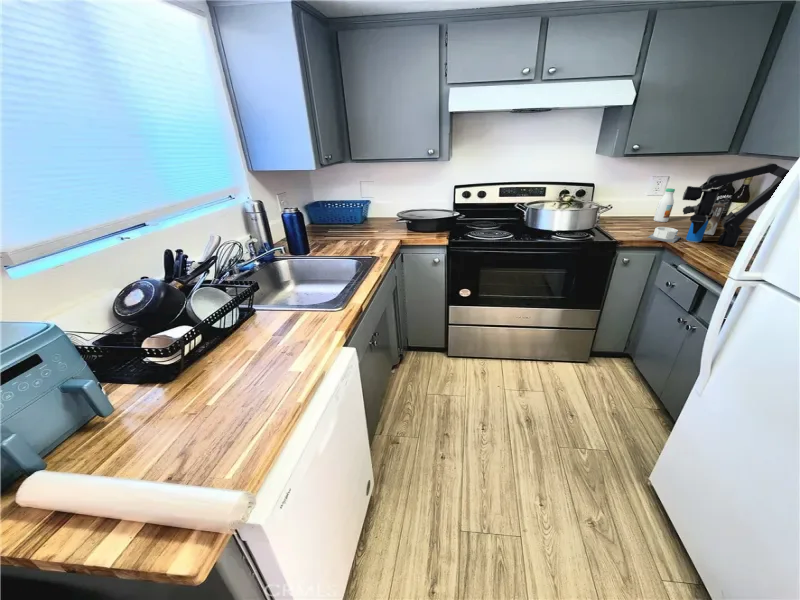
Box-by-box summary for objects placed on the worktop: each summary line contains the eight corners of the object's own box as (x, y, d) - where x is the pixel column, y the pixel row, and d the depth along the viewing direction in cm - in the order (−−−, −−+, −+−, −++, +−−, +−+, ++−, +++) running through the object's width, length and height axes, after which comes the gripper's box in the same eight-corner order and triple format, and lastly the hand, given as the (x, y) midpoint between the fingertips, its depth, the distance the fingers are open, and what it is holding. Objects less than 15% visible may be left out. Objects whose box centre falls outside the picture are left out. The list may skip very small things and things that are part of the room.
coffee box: (714, 233, 191) (725, 203, 183) (713, 235, 186) (725, 205, 179) (693, 230, 196) (704, 202, 189) (692, 232, 192) (703, 204, 185)
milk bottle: (656, 222, 215) (667, 189, 206) (650, 219, 222) (660, 187, 213) (670, 222, 214) (681, 189, 205) (663, 219, 220) (674, 187, 211)
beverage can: (700, 243, 174) (709, 220, 169) (685, 241, 178) (693, 219, 172) (700, 240, 179) (709, 218, 173) (685, 238, 182) (693, 216, 177)
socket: (680, 238, 183) (683, 229, 181) (673, 242, 176) (676, 233, 174) (654, 234, 192) (657, 225, 189) (647, 238, 185) (650, 229, 183)
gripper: (692, 197, 180) (682, 226, 187) (682, 202, 169) (672, 232, 176) (719, 199, 172) (708, 229, 179) (711, 204, 161) (699, 236, 168)
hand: (696, 231), depth 176 cm, fingers open, 9 cm apart
